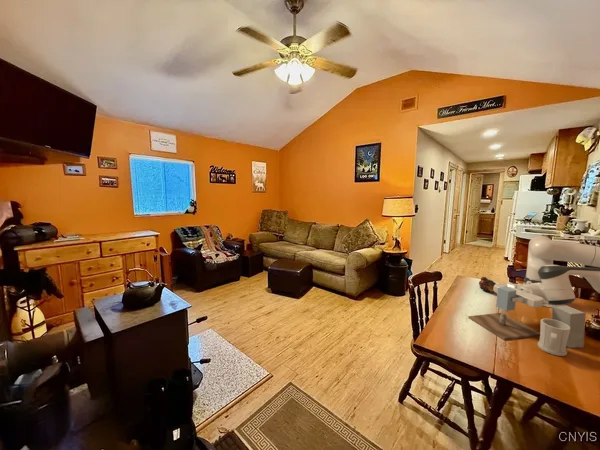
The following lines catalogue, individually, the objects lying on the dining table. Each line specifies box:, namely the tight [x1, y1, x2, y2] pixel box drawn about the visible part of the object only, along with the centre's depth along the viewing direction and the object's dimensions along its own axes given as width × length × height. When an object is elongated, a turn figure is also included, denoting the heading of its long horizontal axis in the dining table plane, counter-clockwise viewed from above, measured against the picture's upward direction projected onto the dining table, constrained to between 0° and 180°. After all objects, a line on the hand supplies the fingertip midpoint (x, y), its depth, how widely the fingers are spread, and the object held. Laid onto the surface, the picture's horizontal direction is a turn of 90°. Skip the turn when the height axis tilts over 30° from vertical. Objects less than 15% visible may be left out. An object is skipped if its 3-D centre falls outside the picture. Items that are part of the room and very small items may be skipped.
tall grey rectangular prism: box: [495, 287, 517, 312], centre depth 122 cm, size 5×5×10 cm
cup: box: [537, 318, 571, 357], centre depth 105 cm, size 10×9×12 cm
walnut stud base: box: [467, 312, 540, 341], centre depth 124 cm, size 20×20×7 cm
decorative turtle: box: [478, 276, 497, 294], centre depth 166 cm, size 10×15×8 cm, turn 174°
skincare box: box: [551, 304, 586, 349], centre depth 110 cm, size 8×7×16 cm
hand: (504, 296), depth 122 cm, fingers closed on tall grey rectangular prism, 5 cm apart
